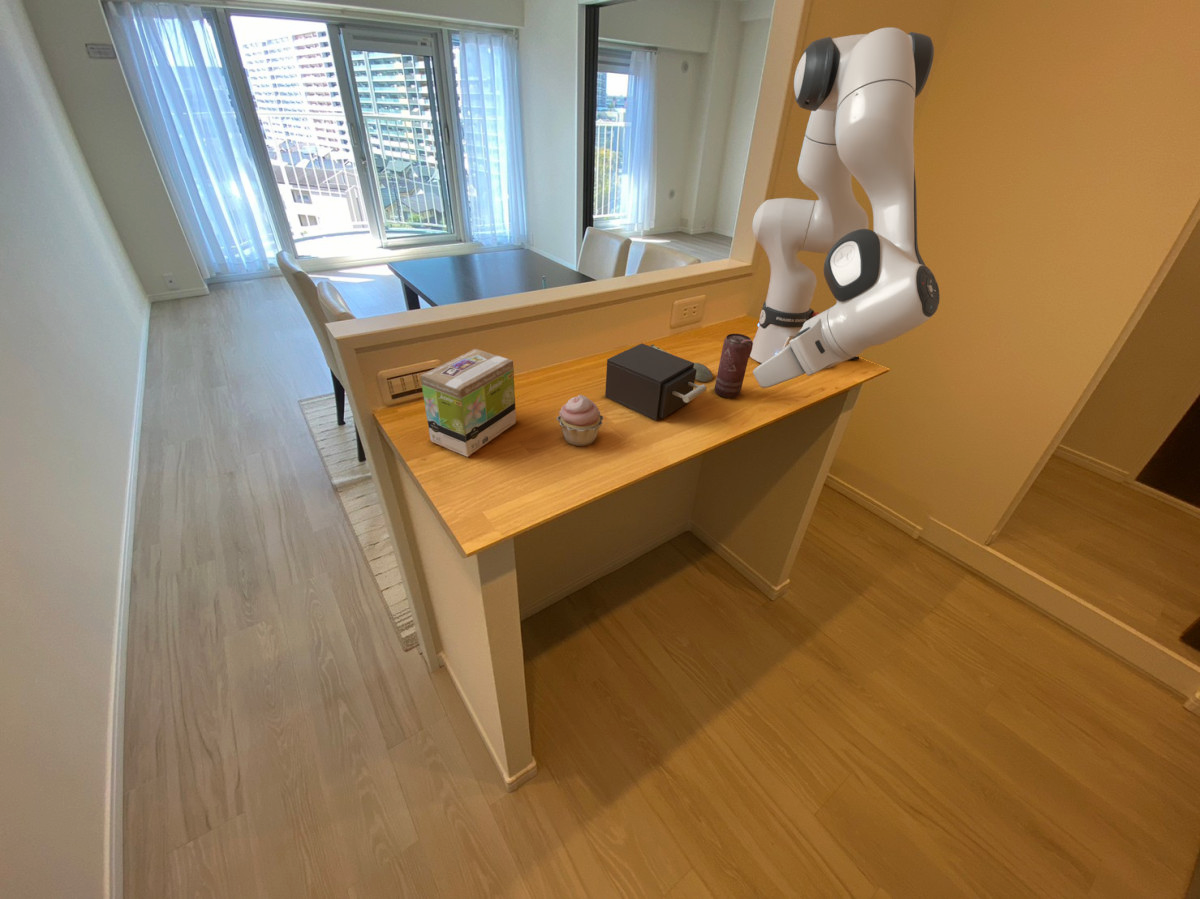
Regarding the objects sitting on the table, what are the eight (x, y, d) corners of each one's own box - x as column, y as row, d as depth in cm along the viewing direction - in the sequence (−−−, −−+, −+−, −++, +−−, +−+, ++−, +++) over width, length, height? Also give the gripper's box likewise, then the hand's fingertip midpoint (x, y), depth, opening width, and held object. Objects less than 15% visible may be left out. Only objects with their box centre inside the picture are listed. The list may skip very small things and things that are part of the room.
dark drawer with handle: (707, 406, 110) (713, 375, 105) (679, 426, 103) (684, 393, 98) (644, 380, 119) (647, 350, 115) (614, 396, 112) (616, 365, 107)
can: (741, 401, 115) (754, 344, 106) (713, 397, 115) (725, 341, 107) (740, 388, 119) (753, 334, 111) (714, 385, 120) (725, 331, 112)
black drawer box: (688, 400, 114) (694, 362, 108) (656, 421, 106) (661, 381, 100) (638, 379, 121) (641, 343, 116) (605, 397, 113) (607, 359, 108)
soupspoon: (697, 387, 121) (716, 382, 124) (700, 375, 119) (719, 370, 122) (642, 351, 134) (660, 347, 138) (644, 340, 132) (662, 336, 136)
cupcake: (556, 425, 103) (555, 383, 97) (600, 425, 104) (602, 383, 98) (556, 451, 95) (556, 407, 89) (604, 451, 96) (607, 406, 90)
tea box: (469, 459, 92) (459, 389, 83) (430, 442, 96) (416, 374, 87) (518, 423, 103) (514, 358, 94) (480, 409, 107) (473, 346, 98)
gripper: (840, 308, 87) (775, 343, 98) (792, 340, 75) (724, 376, 85) (857, 339, 88) (790, 370, 98) (812, 376, 75) (741, 407, 86)
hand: (759, 373), depth 92 cm, fingers closed
